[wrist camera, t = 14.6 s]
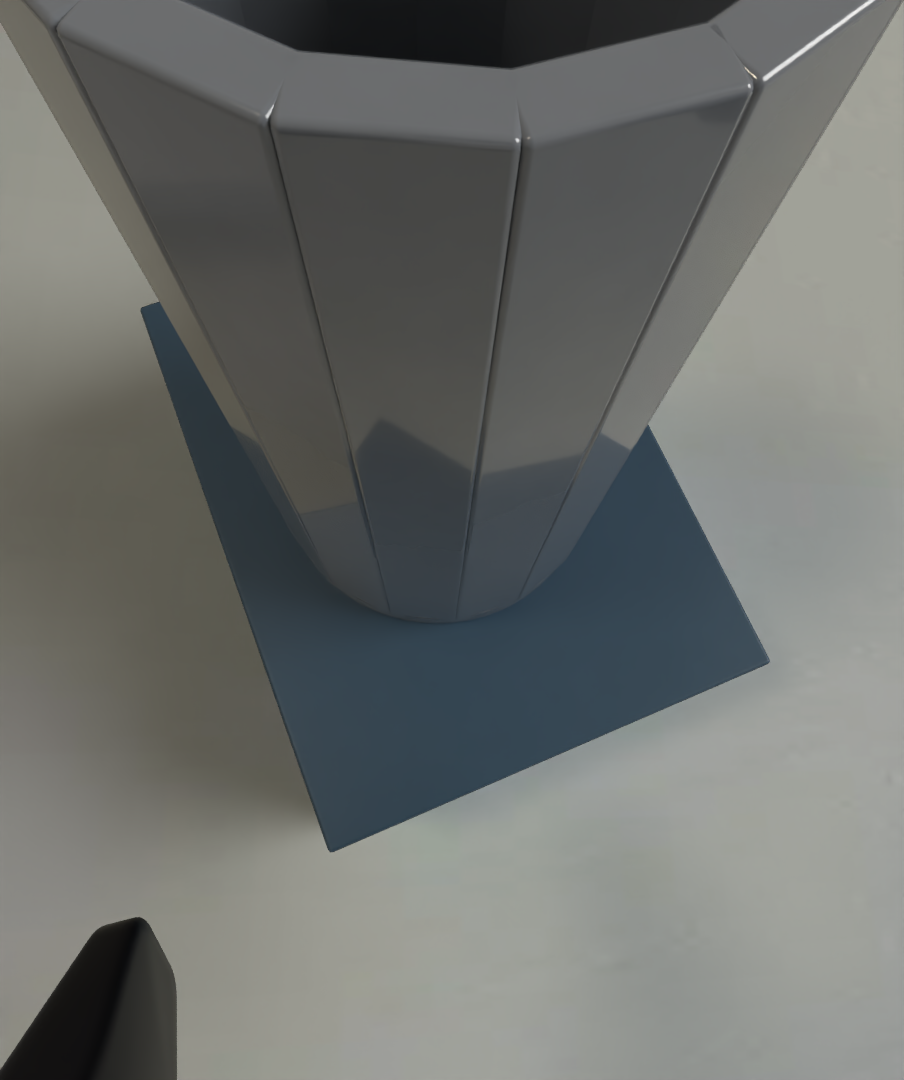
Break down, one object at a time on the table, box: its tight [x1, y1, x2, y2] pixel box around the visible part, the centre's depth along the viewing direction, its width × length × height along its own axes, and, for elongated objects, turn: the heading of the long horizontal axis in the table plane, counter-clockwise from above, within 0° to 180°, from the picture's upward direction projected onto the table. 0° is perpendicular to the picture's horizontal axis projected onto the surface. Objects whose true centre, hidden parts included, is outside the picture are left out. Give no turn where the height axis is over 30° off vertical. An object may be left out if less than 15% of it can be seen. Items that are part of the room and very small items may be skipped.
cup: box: [0, 0, 904, 623], centre depth 11 cm, size 6×6×13 cm
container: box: [141, 302, 770, 852], centre depth 20 cm, size 12×9×5 cm
